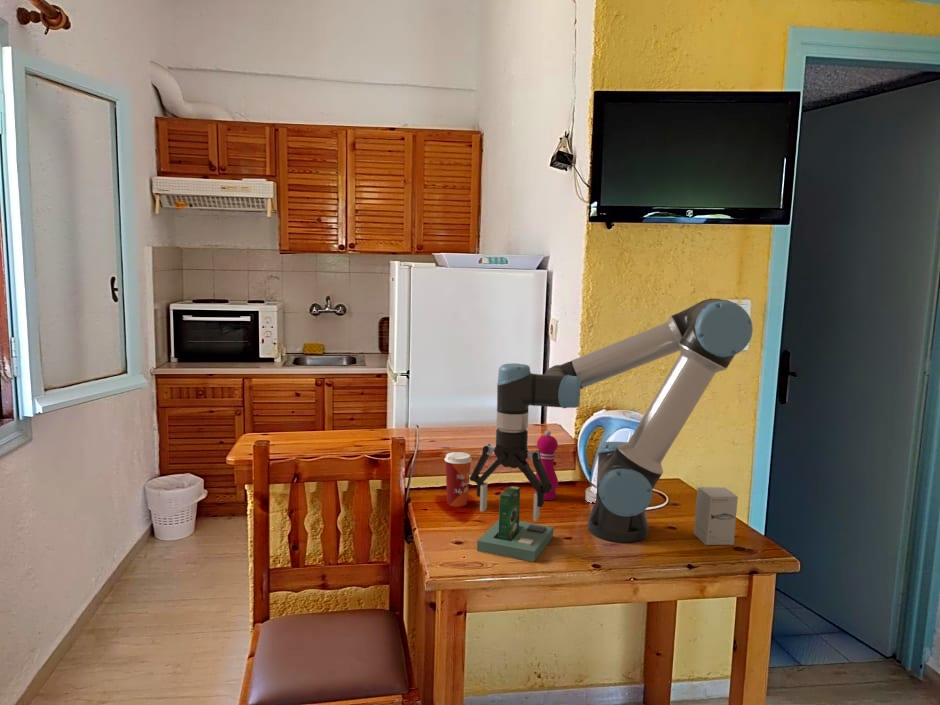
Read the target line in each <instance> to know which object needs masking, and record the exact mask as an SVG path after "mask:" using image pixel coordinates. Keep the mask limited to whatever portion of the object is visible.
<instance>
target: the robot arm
mask: <svg viewBox="0 0 940 705" xmlns="http://www.w3.org/2000/svg"><path fill="white" fill-rule="evenodd" d="M753 329H754V328H753V322H752V319H751V316H750V315H749V314H748V312H747V311H746V310H745V308H743V307H742V306H741V305H739V304H738V303H737V302H733V301H731V300H728V299H721V298H708V299H704V300H701V301H699V302H697V303H695V304H694V305H692V306H689V307H687V308H686V309H684V310H682V311H680V312H677V313H675V314H672V315H670V316H669V317H668V319H667V322H664V323H661V324H659V325H657V326H654V327H651V328H649V329H647V330H644V331H641V332H638V333H637V334H634V335H631V336H629V337H626V338H624V339H621V340H619V341H617V342H614V343H612V344H609V345H607V346H604V347H602V348H599V349H596V350H594V351H592V352H589V353H587V354H585V355H582V356H580V357H577V358H575V359H572V360H570V361H567V362H565V363H562V364H556V365H553V366H551V367H549V368H548V369H547V370H546V371H545V372H544V374H537V373H533V372H531V367H530V366H529V365H527V364H525V363H522V364H521V363H512V362H511V363H505V364H502V365H501V366H500V367H499V368H498V376H497V383H496V385H497V386H496V388H497V389H496V390H497V391H496V392H497V393H496V394H497V396H496V397H497V398H496V399H497V401H496V403H497V404H496V423H495V424H496V426H495V427H497V429H496V430H495V431H496V432H495V446H492V445H491V444H490V443H488V444H486V445H484V446H483V447H482V452H481V453H482V454H481V456H480V458H479V459H478V462H477V463H476V466H475V468H474V470H473V471H472V473H470V476H469V481H471V482H474V483H475V484H476V497H479V512H484V511H485V510H486V509H487V507H488V482H485V481H486V480H487V479H488V478H489V477H490V476H491V475H492V474H493V472H494V471H495V470H496V469H497V468H499V466H503V467H504V468H512V469H519V471H520V472H522V473H523V475H524V477H526V478H527V480H528V482H529V483H530V485H531V486H532V487H533V489H534V491H535V490H536V493H535V492H534V494H533V508H532V509H533V510H532V512H533V514H532V521H533V522H537V520H539V518H540V513H541V512H540V509H541V508H542V507H543V506H544V505H545V504H544V503H545V501H544V493H549V492H550V491H551V490H552V485H551V483H550V480H549V478H548V476H547V473H546V471H545V469H544V466H543V464H542V462H541V457H540V451H539V449H538V450H535V451H529V450H528V439H529V438H528V435H529V433H528V430H527V429H528V428H529V406H535V407H549V408H561V409H562V408H563V409H569V408H570V409H575V408H578V407H579V406H580V404H581V403H580V402H581V390H582V389H584V388H586V387H590V386H592V385H594V384H597V383H599V382H602V381H604V380H607V379H610V378H612V377H615V376H618V375H620V374H623V373H624V372H628V371H631V370H633V369H635V368H638V367H640V366H643V365H646V364H648V363H651V362H653V361H656V360H659V359H661V358H664V357H666V356H670V355H672V354H674V353H677V352H679V353H680V354H679V355H678V358H677V359H676V361H675V362H674V364H673V366H672V368H671V369H670V371H669V373H668V374H667V376H666V378H665V379H664V381H663V383H662V385H661V386H660V387H659V389H658V391H657V393H656V394H655V396H654V397H653V399H652V401H651V403H650V405H649V406H648V408H647V409H646V411H645V414H644V415H643V416H642V417H641V420H640V421H639V423H638V425H637V426H636V428H635V430H634V431H633V432H632V433H633V434H632V435H631V437H630V439H628V442H627V441H626V442H625V441H604V442H601V443H600V444H599V445H598V451H597V456H598V457H597V475H596V476H597V477H596V486H597V493H596V501H595V504H594V506H592V509H591V512H590V513H589V517H588V520H587V530H588V531H589V532H590V533H591V534H592V535H593V536H595V537H598V538H600V539H602V540H606V541H611V542H618V543H634V542H639V541H643V540H645V539H646V538H647V537H648V536H649V522H648V519H647V515H646V512H645V511H646V510H647V509H648V507H649V506H650V504H651V502H652V499H653V495H654V494H653V493H654V492H653V490H654V488H655V486H656V485H657V483H658V482H659V480H660V478H661V476H662V475H663V473H664V470H663V466H662V462H663V460H664V458H665V457H666V455H667V453H668V452H669V451H670V448H671V447H672V446H673V444H674V442H675V440H676V439H677V437H678V435H679V434H680V433H681V431H682V429H683V428H684V425H685V424H686V422H687V421H688V419H689V417H690V415H692V412H693V410H694V409H695V408H696V406H697V404H698V403H699V401H700V399H701V398H702V396H703V394H704V392H705V391H706V389H708V388H707V387H708V386H709V385H710V383H711V382H712V380H713V378H714V376H715V375H716V374H717V373H719V372H723V371H725V370H727V368H728V367H729V365H730V364H731V362H732V361H733V359H734V357H735V356H736V355H738V354H739V353H740V352H742V351H743V350H745V349H746V347H747V346H748V344H749V343H750V341H751V339H752V336H753V331H754V330H753ZM492 454H494V455H495V457H496V460H495V461H494V462H493V463H492V464H491V465H490V466H489V467H488V468H487V470H486V471H484V472H483V473H482V471H483V468H484V466H485V464H486V463H487V461H488V459H489V458H490V456H491V455H492ZM528 458H529V459H530V461H531V462H532V463H533V466H534V469H535V472H534V471H533V469H532V468H531V467H530V464H529V462H528V461H527V459H528ZM536 472H537V474H538V476H539V479H540V481H541V482H540V481H539V479H538V478H537V477H536V475H535V474H536ZM480 473H482V475H481V476H479V475H480ZM541 483H542V484H541Z"/></svg>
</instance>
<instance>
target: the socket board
mask: <svg viewBox="0 0 940 705" xmlns="http://www.w3.org/2000/svg"><path fill="white" fill-rule="evenodd" d="M498 533H499V519H498V520H496V522H495V523H494V524H492V526H490V527H489V529H487V530H486V531H485V533H483V535H481V536H480V538H479V539H477V542H476V543H477V544H476V551H477V552H481V551H482V553H486V552H488V553H487V554H491V553H493V554H492V555H496V554H497V556H501V557H507V558H511V557H512V559H515V560H516V559H517V560H521V559H522V561H527V562H531V563H534V562H535V561H536V560H537V559H538V558H539V556H540V555H541V554H542V552H543V550H544V549H546V547H547V546H548V544H549V543H550V542H551V540H552V539H553V537H554V527H553V526H549V525H543V524H539V523H532V522H526V521H521V520H519V533H518V534H517V535H516V536H515V537H514V539H513V540H512V541H507V540H501V539H498Z"/></svg>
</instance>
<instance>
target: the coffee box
mask: <svg viewBox="0 0 940 705" xmlns="http://www.w3.org/2000/svg"><path fill="white" fill-rule="evenodd" d="M520 502H521V487H520V486H513V485H510V486H508V487H507V488H506V489H505V490H504V491H502V492H501V493H500V494H499V510H498V516H499V517H498V520H499V533H498V539H501V540H507V541H512V540H513V539H514V537H515V536H516V535H517V534H518V533H519V521H520V509H521V508H520V504H521V503H520Z"/></svg>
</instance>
